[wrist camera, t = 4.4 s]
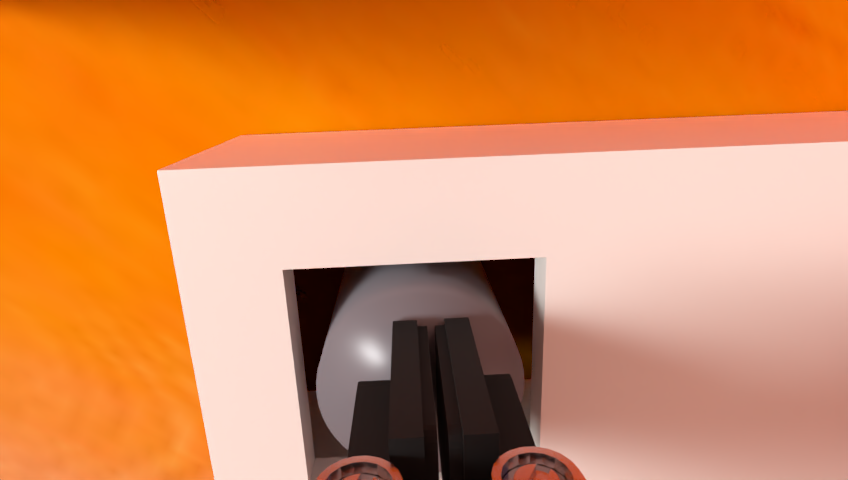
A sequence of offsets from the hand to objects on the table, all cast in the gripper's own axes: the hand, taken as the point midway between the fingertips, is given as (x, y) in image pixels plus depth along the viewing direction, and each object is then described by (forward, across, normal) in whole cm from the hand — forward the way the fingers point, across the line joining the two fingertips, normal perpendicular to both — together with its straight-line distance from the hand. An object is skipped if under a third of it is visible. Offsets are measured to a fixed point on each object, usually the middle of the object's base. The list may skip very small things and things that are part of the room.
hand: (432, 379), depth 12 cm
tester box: (+6, -7, 0) cm, 9 cm away
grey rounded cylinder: (+6, 0, 0) cm, 6 cm away
